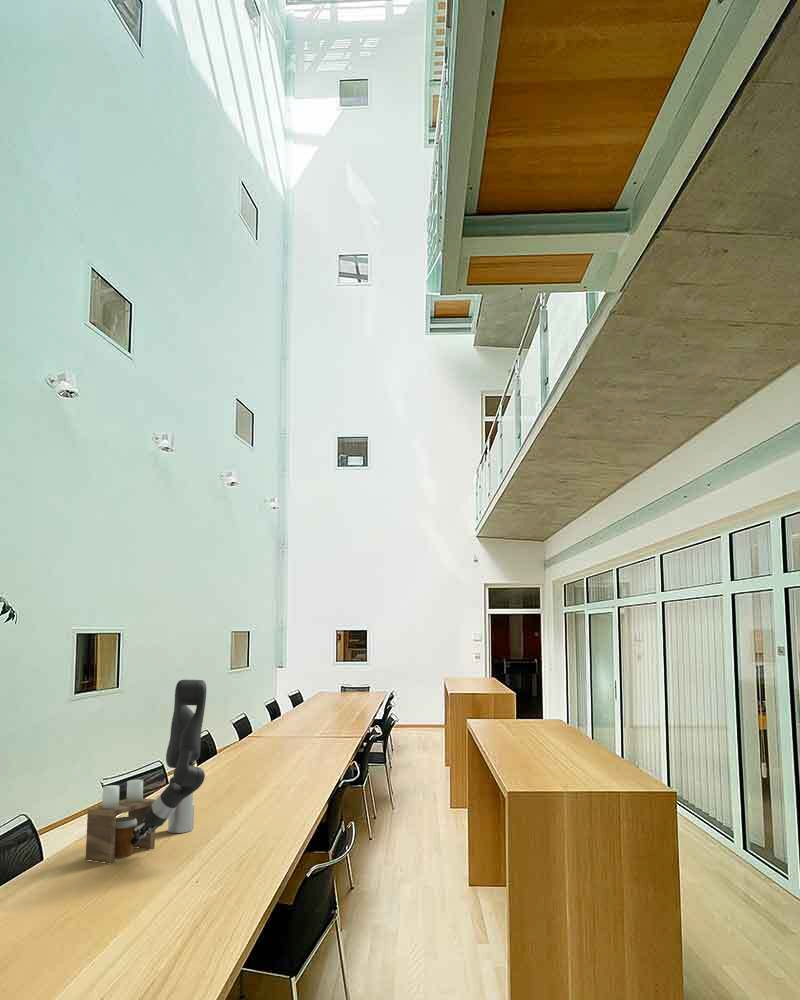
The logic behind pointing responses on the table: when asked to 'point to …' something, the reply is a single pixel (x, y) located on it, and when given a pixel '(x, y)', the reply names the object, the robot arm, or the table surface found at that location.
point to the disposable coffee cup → (124, 836)
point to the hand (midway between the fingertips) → (133, 843)
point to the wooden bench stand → (113, 829)
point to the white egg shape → (134, 791)
